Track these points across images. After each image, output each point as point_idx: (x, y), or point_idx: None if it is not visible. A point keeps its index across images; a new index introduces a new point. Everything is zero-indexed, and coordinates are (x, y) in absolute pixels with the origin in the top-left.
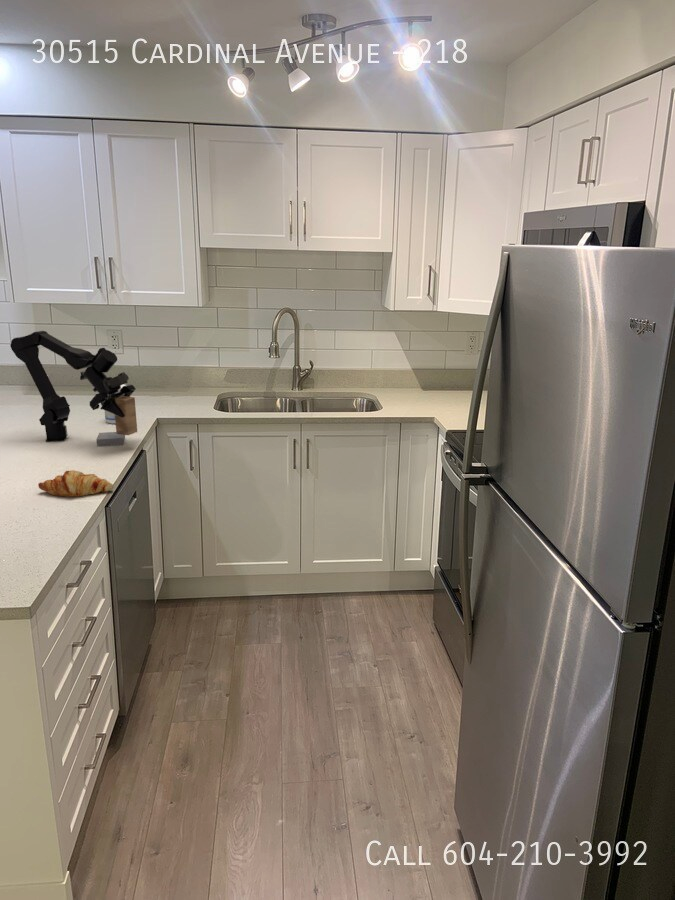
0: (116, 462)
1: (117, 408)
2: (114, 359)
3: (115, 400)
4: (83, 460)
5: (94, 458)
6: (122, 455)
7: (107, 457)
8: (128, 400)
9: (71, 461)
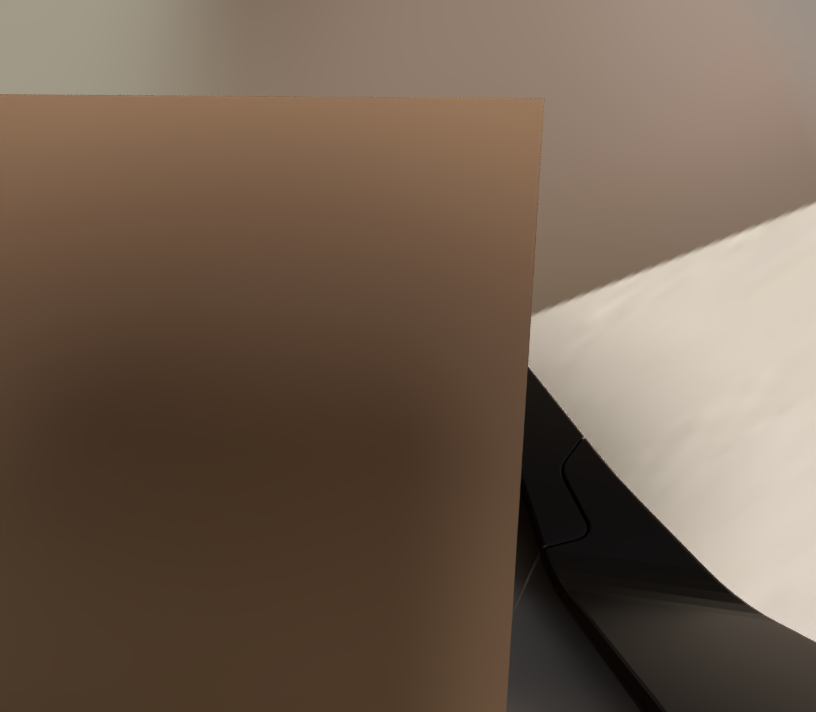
0: (710, 297)
1: (577, 432)
2: None
3: (496, 646)
4: (758, 544)
5: (689, 494)
6: (562, 347)
7: (636, 419)
8: (351, 127)
9: (813, 619)
